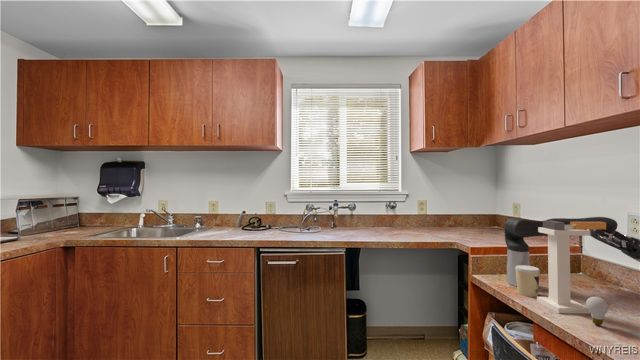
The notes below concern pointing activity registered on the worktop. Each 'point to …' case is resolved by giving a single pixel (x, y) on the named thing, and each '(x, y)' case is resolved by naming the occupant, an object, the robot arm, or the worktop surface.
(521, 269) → the coffee cup
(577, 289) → the worktop surface
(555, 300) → the white pedestal stand
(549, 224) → the putter
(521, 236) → the robot arm
